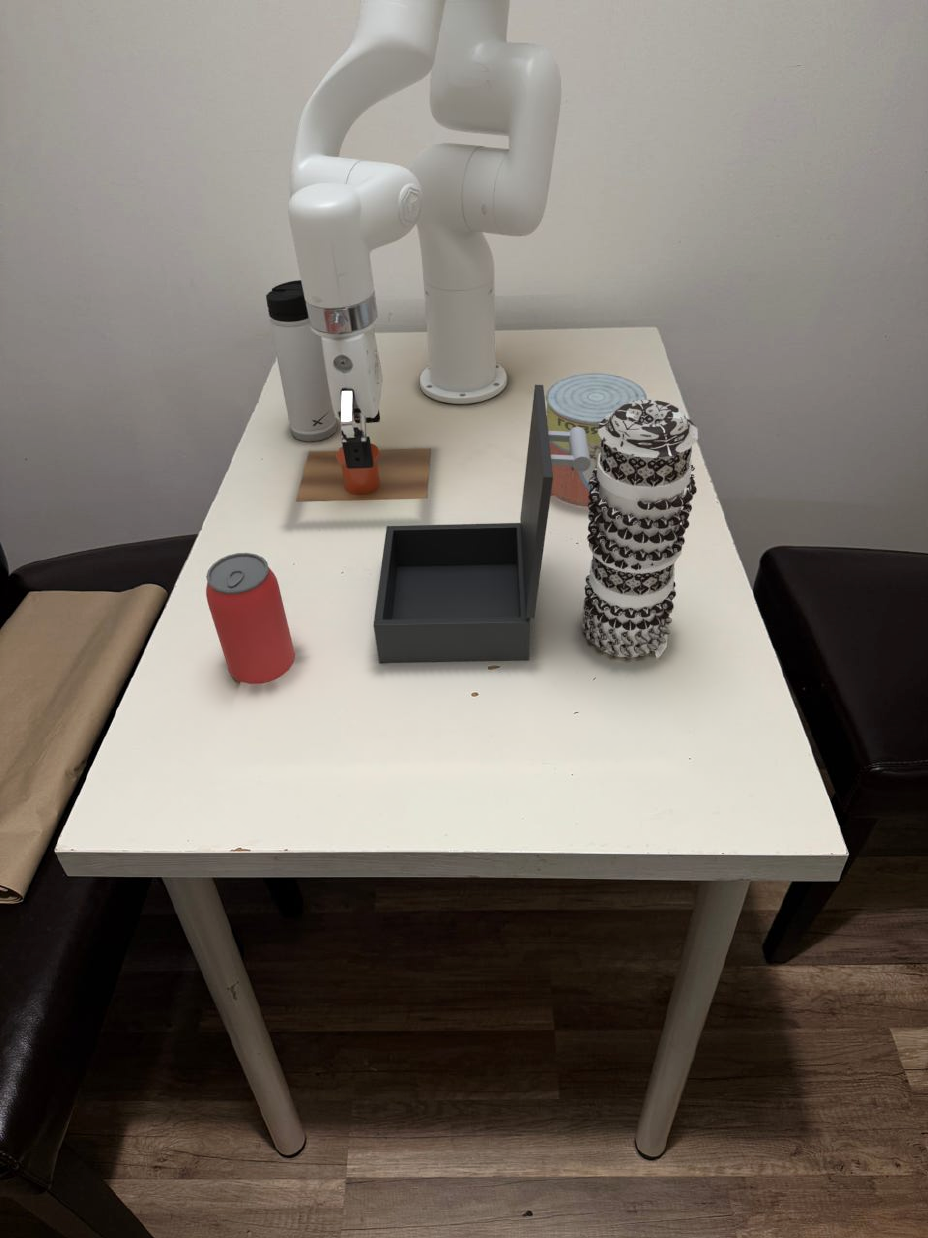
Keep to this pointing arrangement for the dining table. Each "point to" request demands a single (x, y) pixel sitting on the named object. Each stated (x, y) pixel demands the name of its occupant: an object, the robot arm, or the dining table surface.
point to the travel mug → (300, 364)
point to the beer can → (249, 618)
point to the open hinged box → (452, 594)
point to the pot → (360, 474)
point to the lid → (543, 489)
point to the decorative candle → (637, 526)
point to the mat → (397, 474)
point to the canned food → (583, 424)
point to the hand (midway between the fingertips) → (364, 443)
